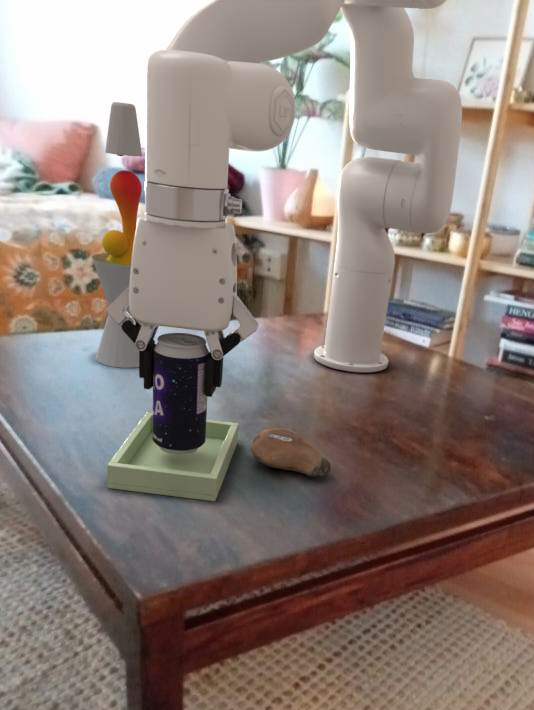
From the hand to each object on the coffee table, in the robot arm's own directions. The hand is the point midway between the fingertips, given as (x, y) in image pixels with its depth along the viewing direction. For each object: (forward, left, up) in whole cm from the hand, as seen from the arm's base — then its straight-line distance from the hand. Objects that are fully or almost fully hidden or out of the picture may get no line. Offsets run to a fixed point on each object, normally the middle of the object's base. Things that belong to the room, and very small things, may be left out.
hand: (180, 387), depth 74 cm
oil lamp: (-2, +12, -9) cm, 15 cm away
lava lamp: (-34, -16, -9) cm, 39 cm away
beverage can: (0, 0, -7) cm, 7 cm away
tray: (0, 0, -9) cm, 9 cm away
